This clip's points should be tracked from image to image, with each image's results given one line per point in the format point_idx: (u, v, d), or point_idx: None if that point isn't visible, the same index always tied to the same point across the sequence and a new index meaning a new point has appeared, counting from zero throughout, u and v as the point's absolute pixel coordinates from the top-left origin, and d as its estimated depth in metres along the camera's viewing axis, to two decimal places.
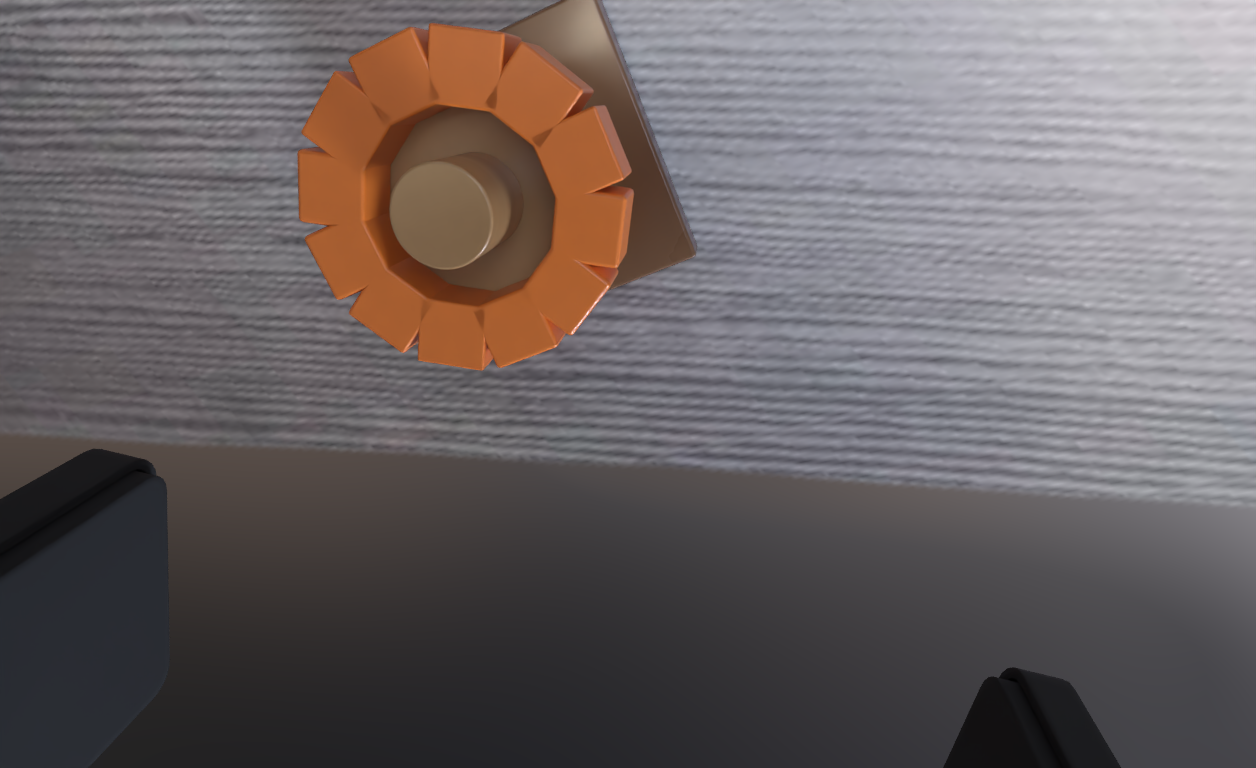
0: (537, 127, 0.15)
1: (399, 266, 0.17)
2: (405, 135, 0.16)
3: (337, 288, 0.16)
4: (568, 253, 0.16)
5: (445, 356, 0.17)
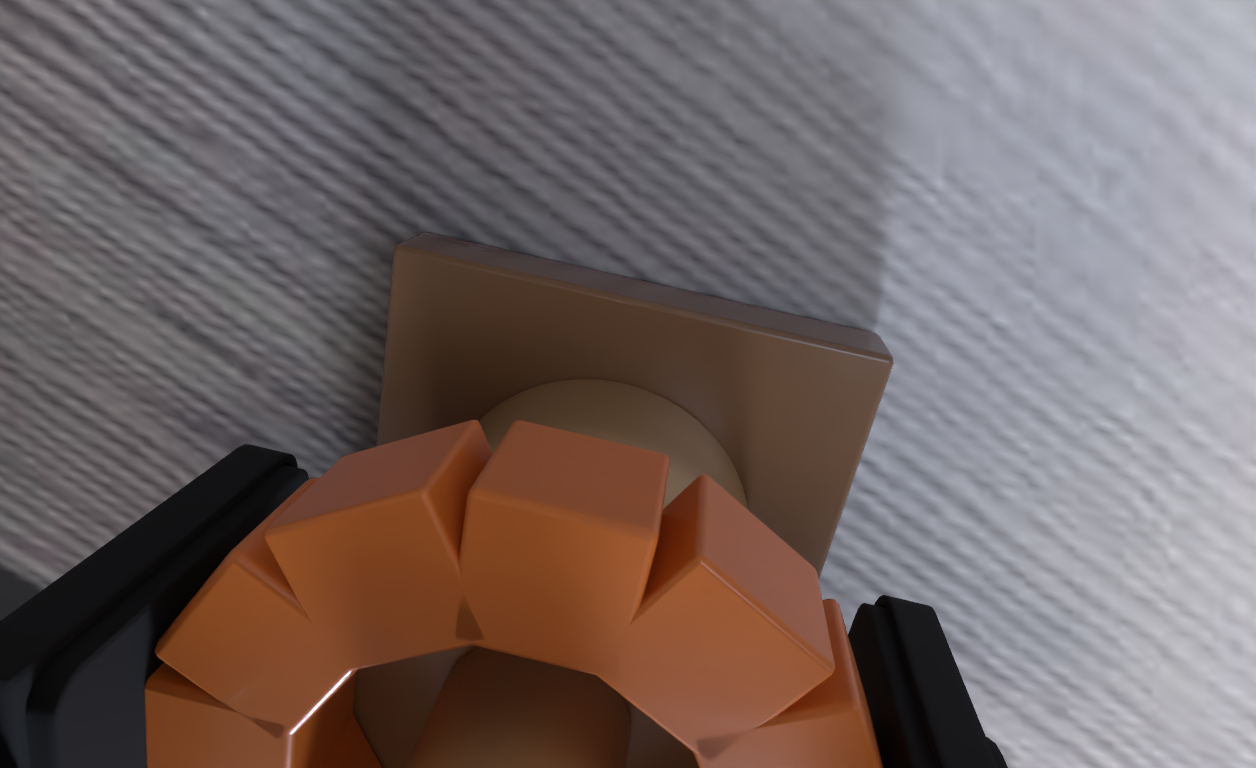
0: None
1: None
2: None
3: None
4: None
5: None
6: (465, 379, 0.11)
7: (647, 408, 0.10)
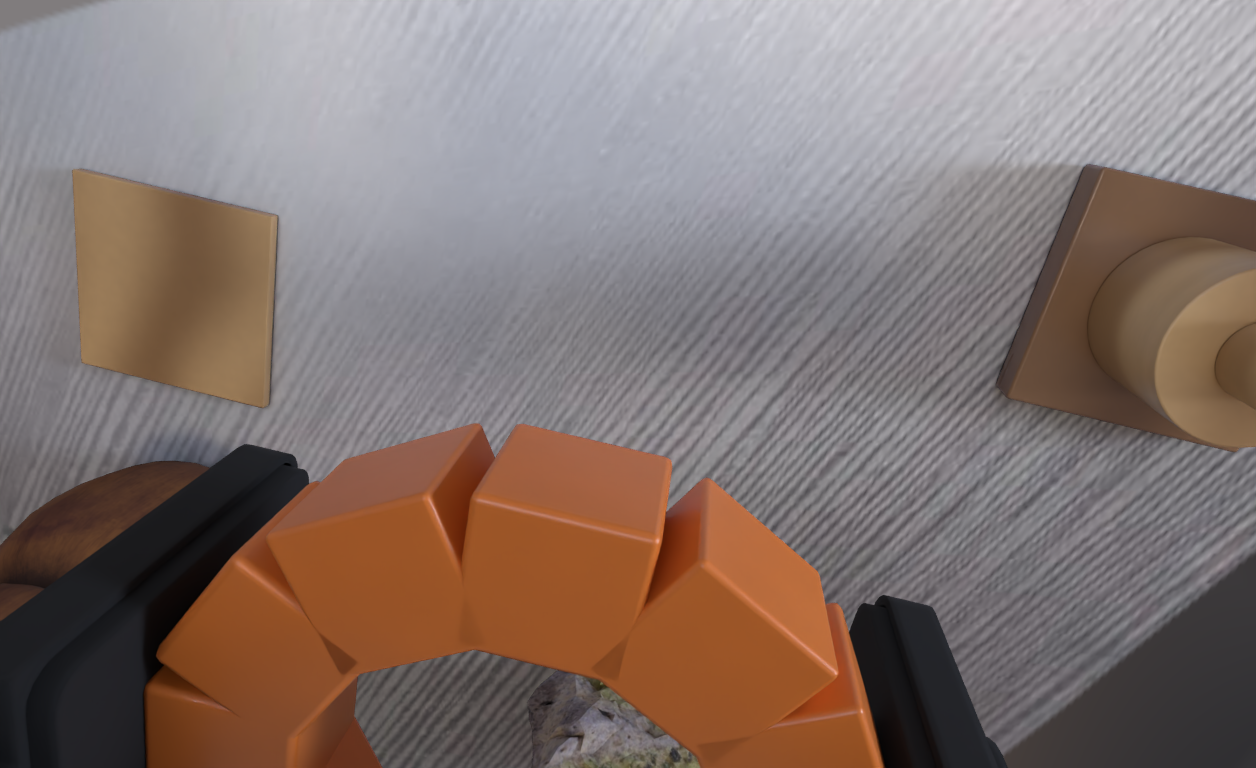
0: None
1: None
2: None
3: None
4: None
5: None
6: (1079, 374, 0.23)
7: (1111, 290, 0.22)
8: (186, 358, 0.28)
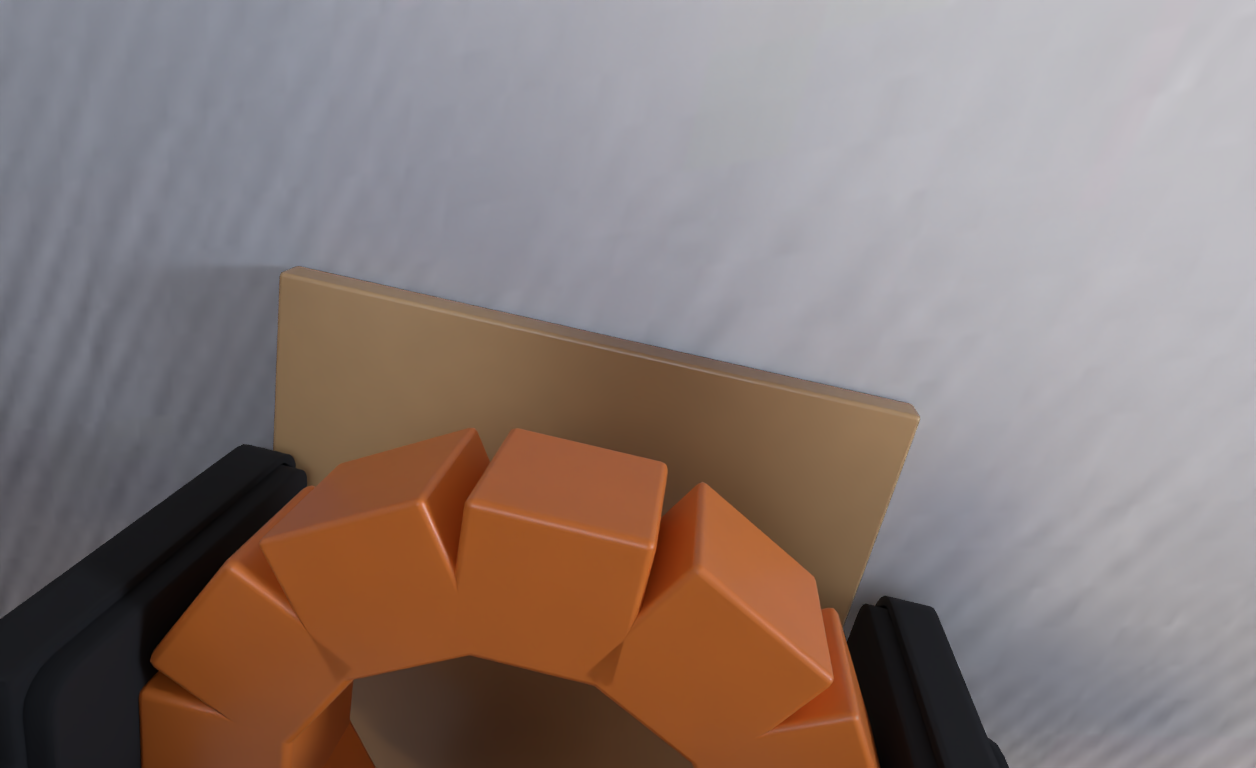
0: None
1: None
2: None
3: None
4: None
5: None
6: None
7: None
8: (558, 759, 0.10)
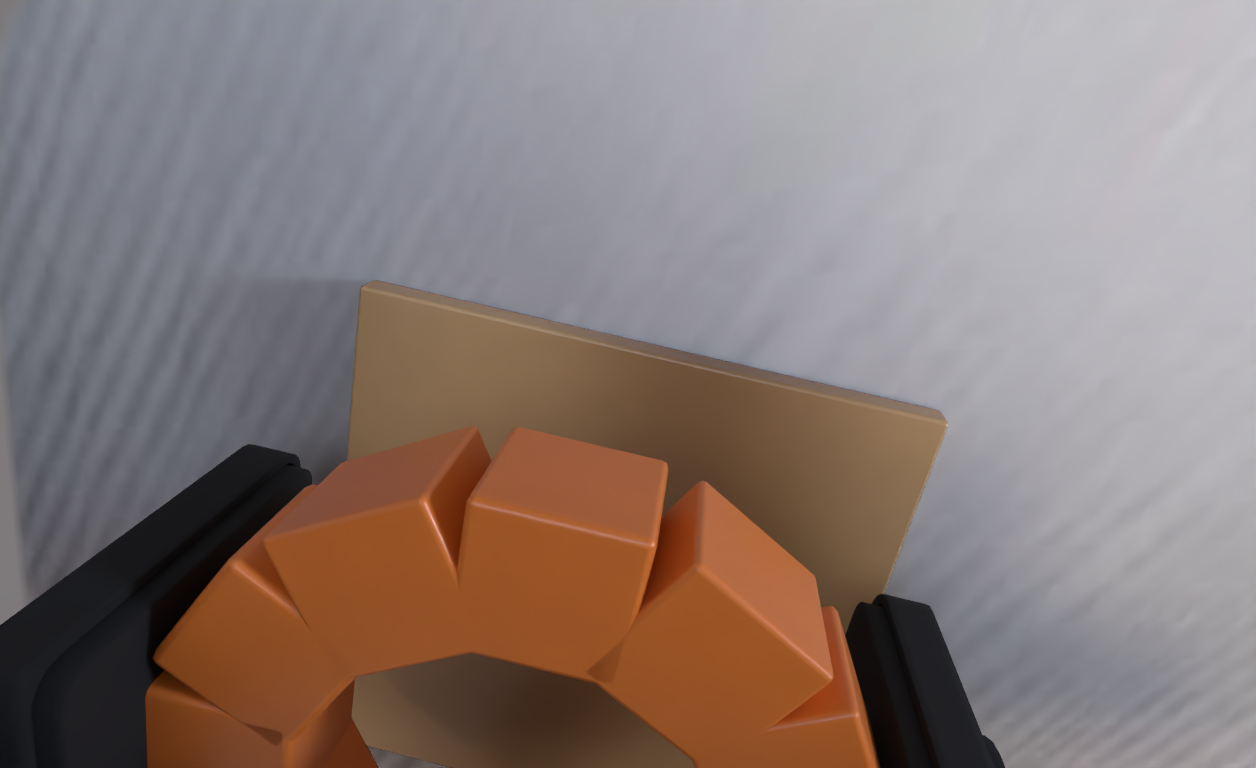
0: None
1: None
2: None
3: None
4: None
5: None
6: None
7: None
8: (603, 742, 0.11)
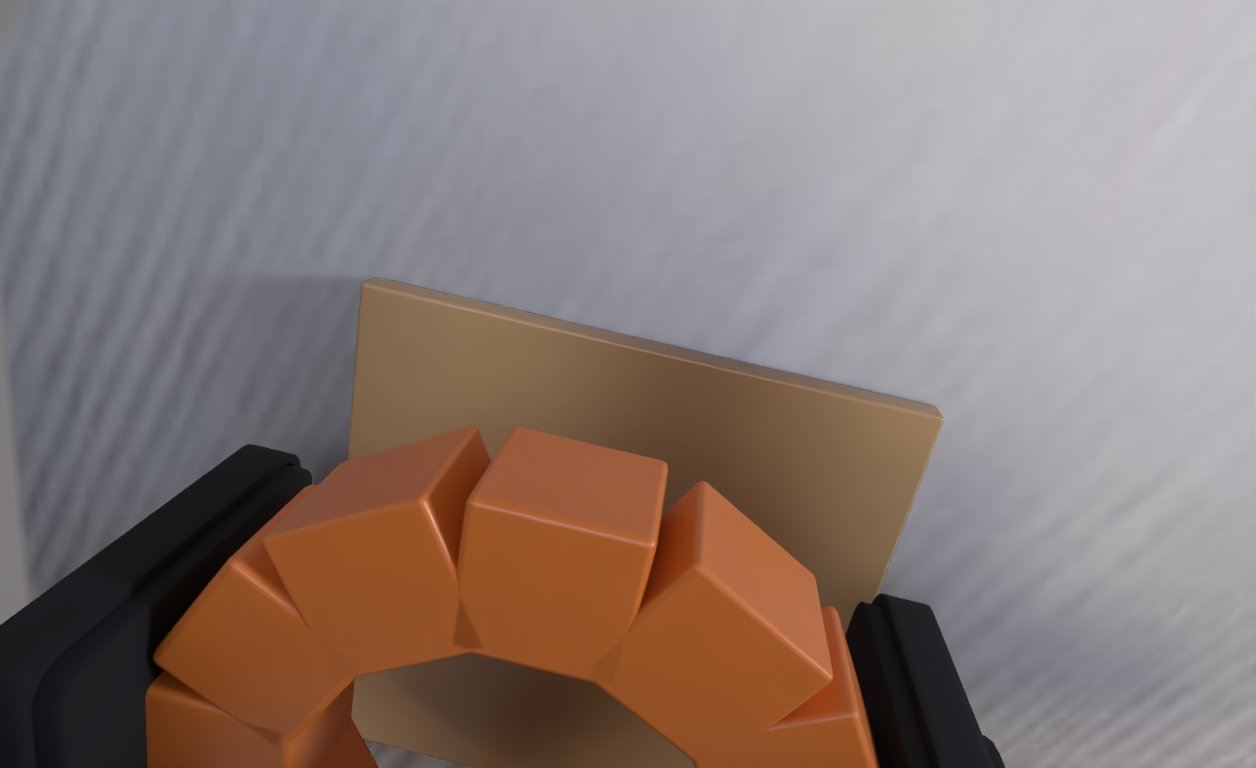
0: None
1: None
2: None
3: None
4: None
5: None
6: None
7: None
8: (602, 736, 0.11)
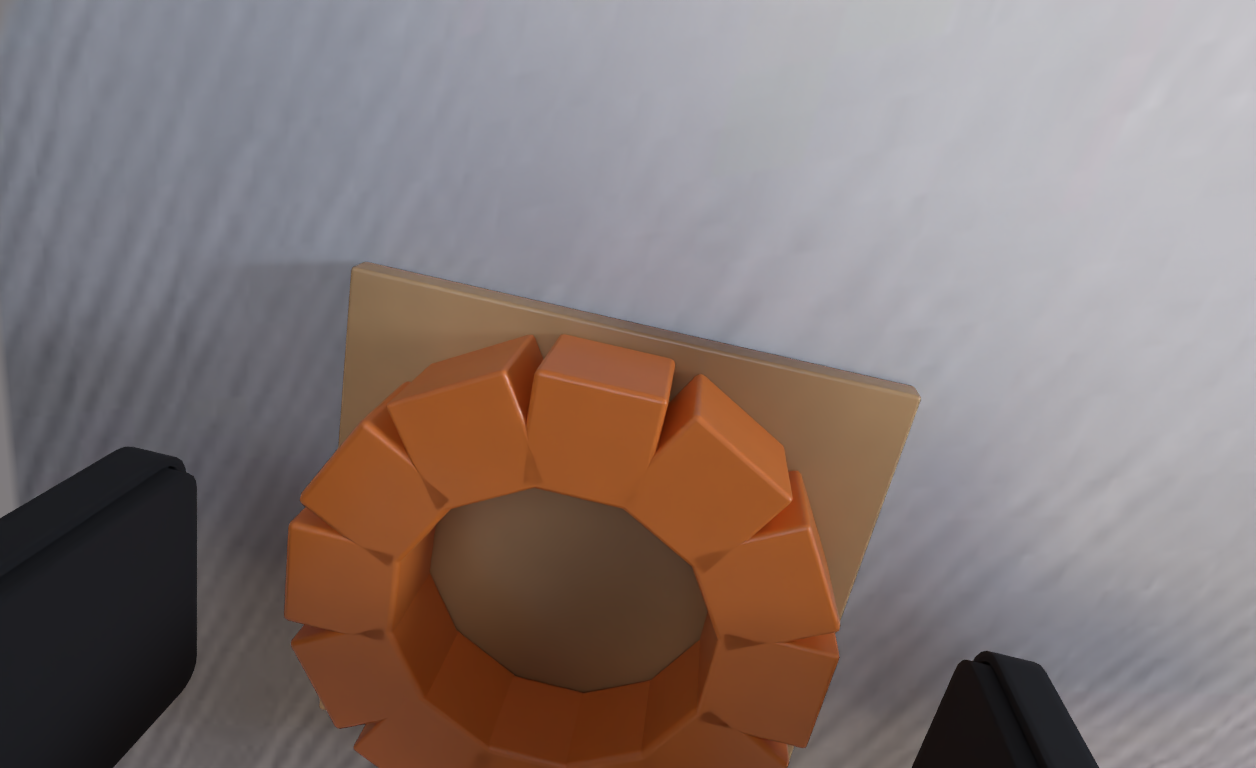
0: (743, 629, 0.09)
1: (406, 615, 0.10)
2: None
3: (295, 608, 0.10)
4: None
5: None
6: None
7: None
8: None
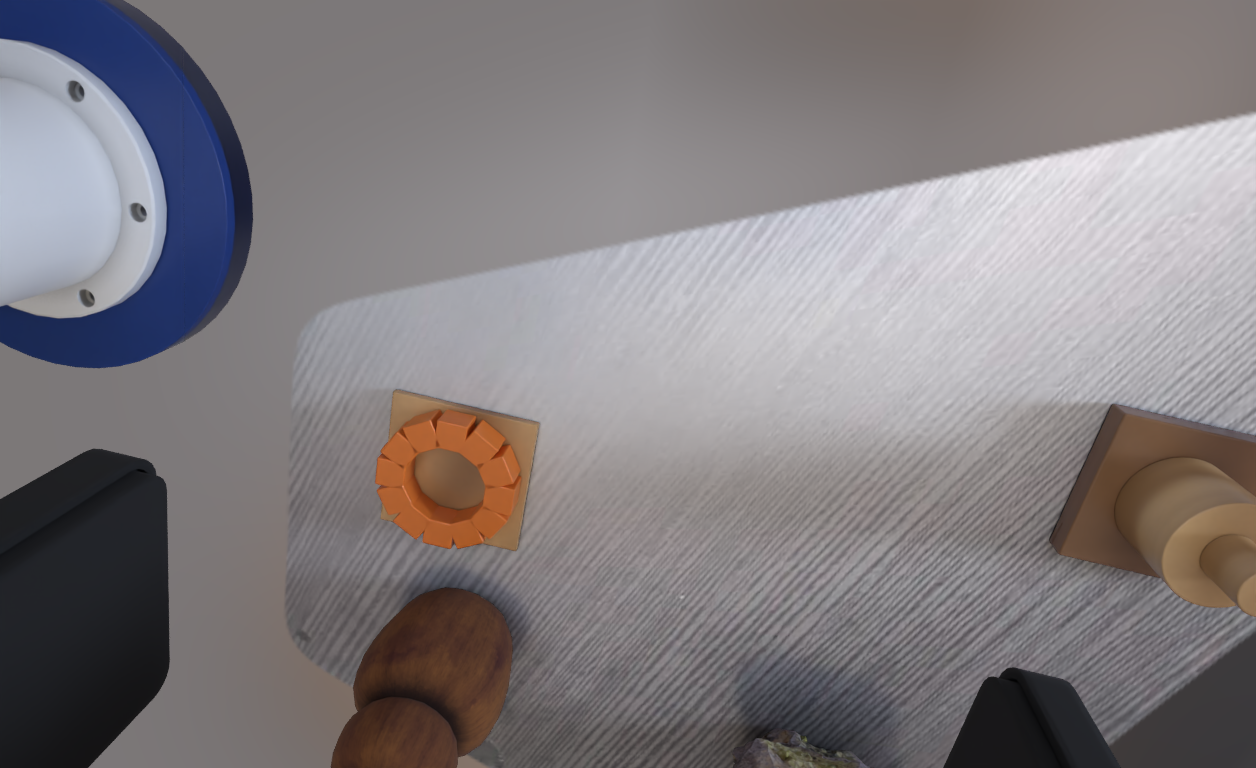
0: (490, 483, 0.36)
1: (407, 483, 0.37)
2: None
3: (378, 480, 0.37)
4: (475, 524, 0.37)
5: (404, 527, 0.38)
6: (1108, 540, 0.34)
7: (1131, 492, 0.33)
8: None
